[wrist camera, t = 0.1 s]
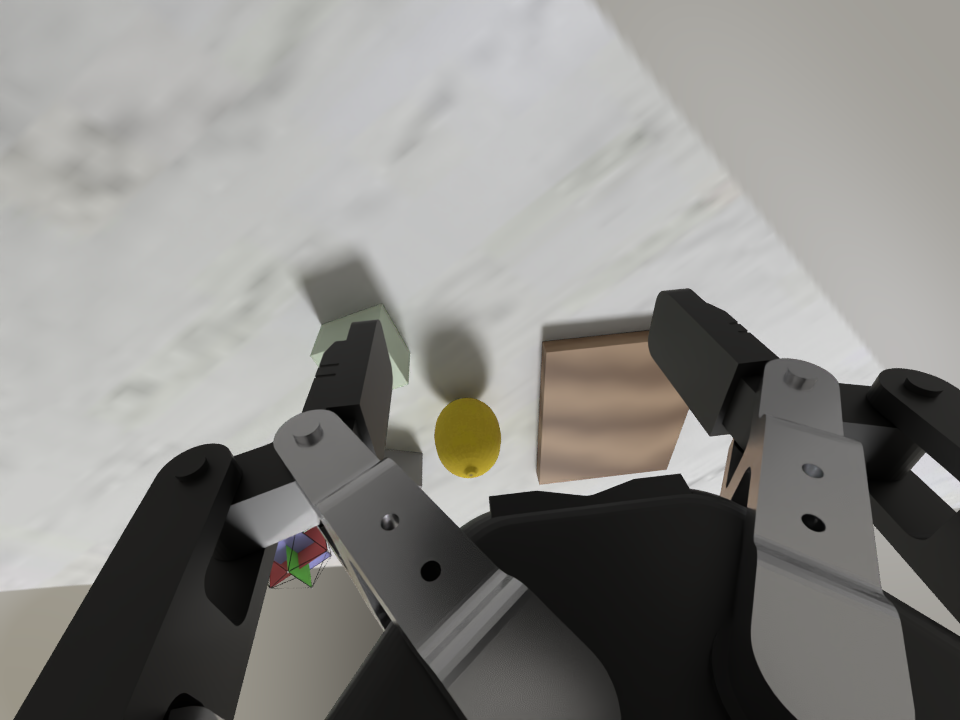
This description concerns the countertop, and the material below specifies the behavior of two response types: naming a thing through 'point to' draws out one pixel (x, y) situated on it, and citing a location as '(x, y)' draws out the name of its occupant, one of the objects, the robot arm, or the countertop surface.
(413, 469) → the gray block
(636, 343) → the walnut board
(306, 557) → the geometric puzzle
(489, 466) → the lemon
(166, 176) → the countertop surface
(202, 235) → the countertop surface
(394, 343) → the sage block
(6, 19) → the countertop surface
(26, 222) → the countertop surface
